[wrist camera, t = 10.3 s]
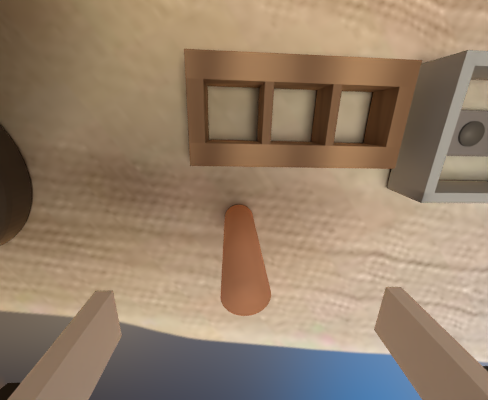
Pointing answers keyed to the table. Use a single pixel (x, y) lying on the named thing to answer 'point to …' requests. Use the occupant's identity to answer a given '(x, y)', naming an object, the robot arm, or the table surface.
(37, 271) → the table surface
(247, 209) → the pin
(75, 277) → the table surface
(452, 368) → the robot arm
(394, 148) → the wooden compartment rack
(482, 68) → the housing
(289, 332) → the table surface
